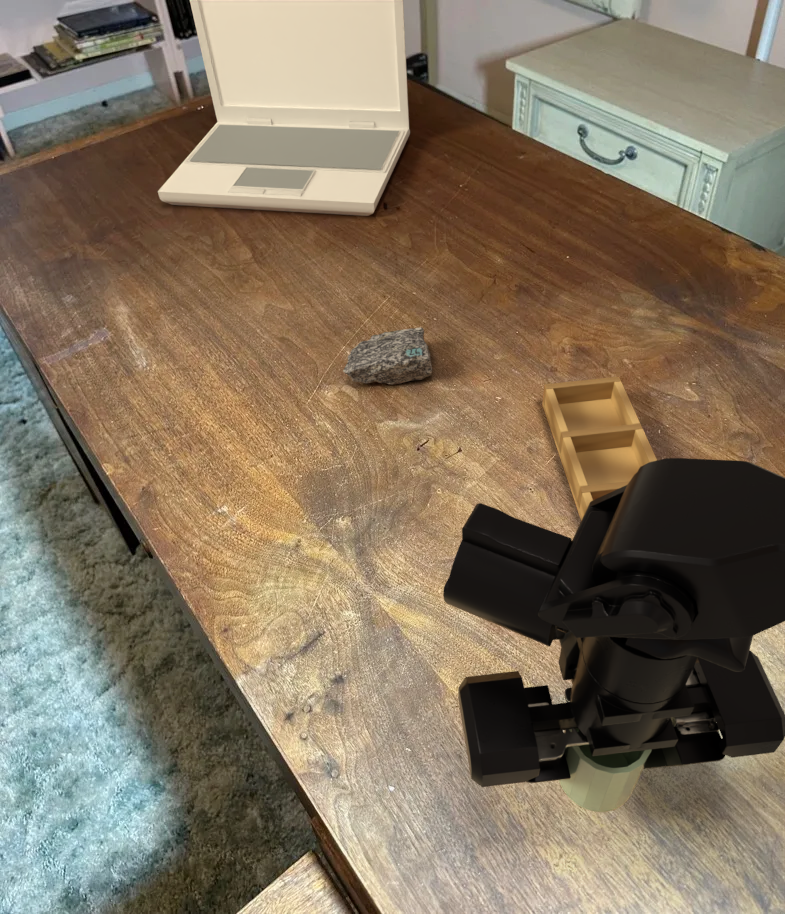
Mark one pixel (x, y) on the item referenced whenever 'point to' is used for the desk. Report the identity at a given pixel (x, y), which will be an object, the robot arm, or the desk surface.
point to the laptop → (298, 106)
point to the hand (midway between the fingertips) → (597, 766)
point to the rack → (595, 436)
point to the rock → (390, 358)
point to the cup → (602, 777)
